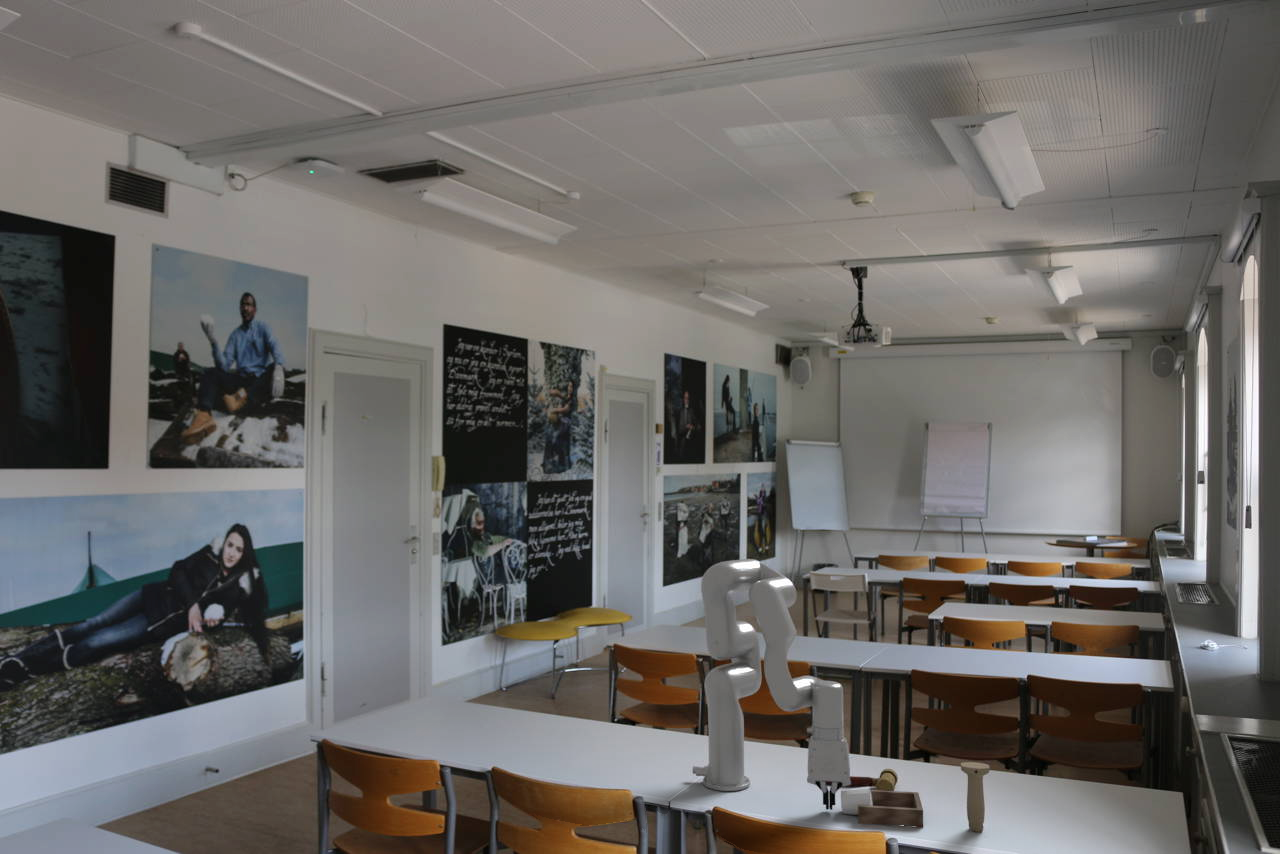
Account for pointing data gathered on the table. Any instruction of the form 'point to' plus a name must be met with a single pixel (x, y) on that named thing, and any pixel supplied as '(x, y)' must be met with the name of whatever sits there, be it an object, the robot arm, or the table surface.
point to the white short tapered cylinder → (855, 799)
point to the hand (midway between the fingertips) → (829, 807)
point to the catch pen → (892, 809)
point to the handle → (975, 793)
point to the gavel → (876, 781)
